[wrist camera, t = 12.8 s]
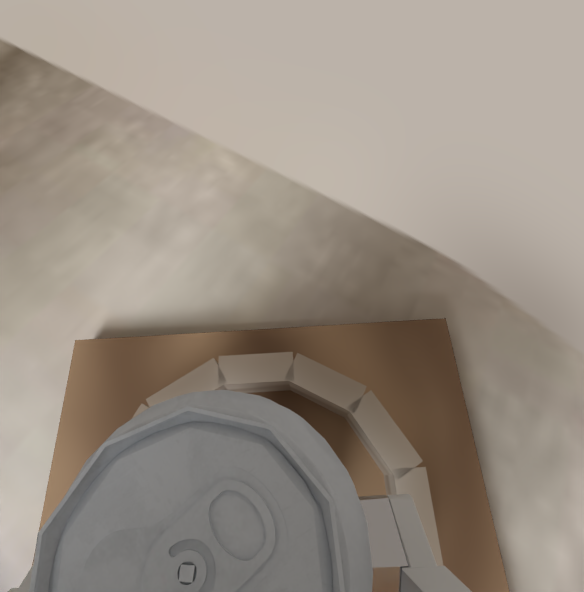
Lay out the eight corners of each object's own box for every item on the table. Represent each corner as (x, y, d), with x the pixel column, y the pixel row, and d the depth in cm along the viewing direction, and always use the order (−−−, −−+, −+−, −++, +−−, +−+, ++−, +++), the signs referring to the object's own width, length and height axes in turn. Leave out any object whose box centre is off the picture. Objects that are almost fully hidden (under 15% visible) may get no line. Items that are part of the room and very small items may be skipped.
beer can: (188, 496, 16) (-80, 552, 5) (276, 415, 17) (221, 313, 6) (263, 606, 14) (118, 1060, 3) (354, 508, 15) (473, 598, 4)
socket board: (8, 798, 13) (-76, 891, 10) (87, 347, 20) (50, 326, 17) (536, 771, 13) (603, 857, 10) (437, 326, 20) (460, 301, 17)
